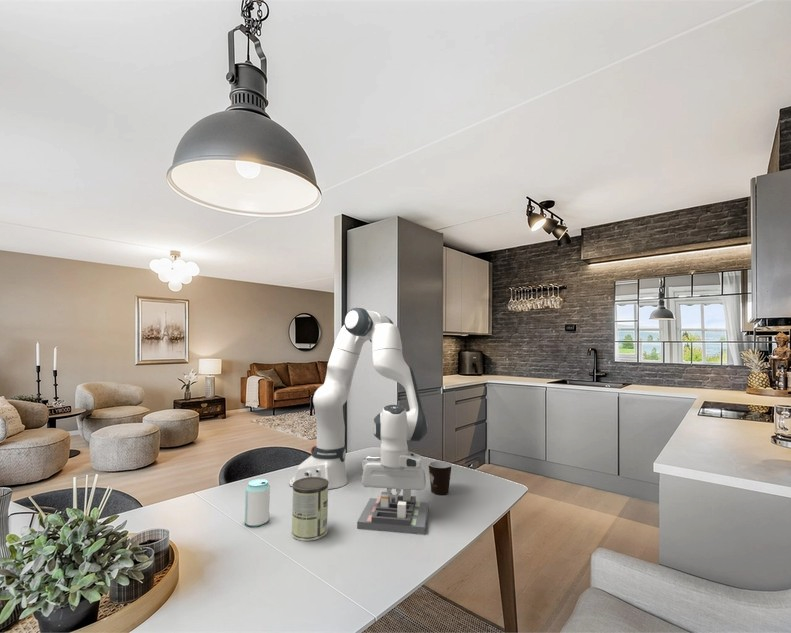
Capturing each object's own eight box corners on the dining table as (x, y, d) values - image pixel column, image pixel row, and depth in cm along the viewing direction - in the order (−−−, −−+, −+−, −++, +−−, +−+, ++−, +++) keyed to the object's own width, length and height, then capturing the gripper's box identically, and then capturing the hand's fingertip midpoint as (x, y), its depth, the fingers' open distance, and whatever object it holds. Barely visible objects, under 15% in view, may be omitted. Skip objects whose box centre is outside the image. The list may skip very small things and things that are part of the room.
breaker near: (397, 521, 115) (397, 504, 116) (398, 518, 118) (398, 501, 118) (405, 522, 115) (405, 505, 115) (406, 518, 117) (406, 501, 118)
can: (262, 515, 124) (263, 476, 125) (272, 522, 119) (274, 482, 120) (240, 521, 119) (242, 481, 120) (250, 530, 114) (252, 487, 115)
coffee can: (292, 525, 117) (294, 477, 118) (327, 523, 119) (328, 475, 120) (289, 542, 107) (291, 490, 108) (327, 540, 109) (328, 488, 110)
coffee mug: (452, 496, 141) (452, 468, 142) (429, 496, 141) (429, 467, 142) (449, 484, 153) (449, 458, 153) (427, 484, 153) (427, 458, 153)
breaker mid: (380, 511, 123) (380, 494, 123) (381, 507, 125) (382, 491, 126) (388, 511, 122) (388, 495, 123) (389, 508, 125) (389, 492, 125)
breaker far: (402, 504, 128) (403, 488, 129) (403, 501, 131) (403, 485, 131) (410, 504, 128) (410, 488, 128) (410, 501, 130) (411, 486, 131)
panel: (357, 528, 116) (357, 516, 116) (370, 503, 134) (370, 493, 134) (424, 534, 113) (424, 521, 113) (428, 508, 131) (428, 497, 131)
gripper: (360, 458, 123) (359, 504, 122) (424, 462, 120) (424, 508, 119) (364, 453, 129) (363, 496, 128) (426, 456, 126) (426, 500, 125)
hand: (393, 502), depth 124 cm, fingers closed
